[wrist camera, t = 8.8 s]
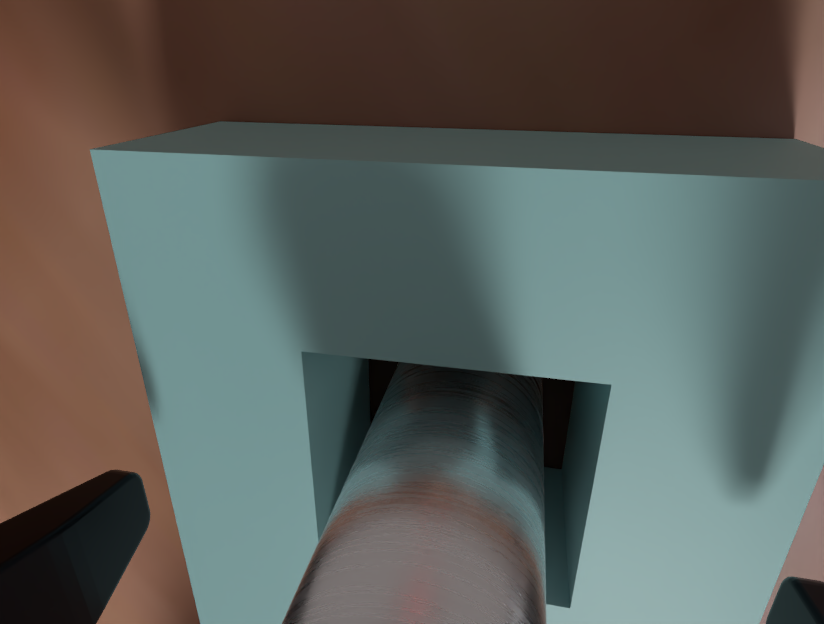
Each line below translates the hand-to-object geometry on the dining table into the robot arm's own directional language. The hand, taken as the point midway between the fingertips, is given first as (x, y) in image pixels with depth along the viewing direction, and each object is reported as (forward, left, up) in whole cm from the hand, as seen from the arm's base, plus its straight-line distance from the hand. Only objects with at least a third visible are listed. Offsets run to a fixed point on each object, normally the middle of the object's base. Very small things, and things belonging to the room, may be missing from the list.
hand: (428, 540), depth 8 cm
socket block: (0, 0, -5) cm, 5 cm away
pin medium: (0, 0, -5) cm, 5 cm away
